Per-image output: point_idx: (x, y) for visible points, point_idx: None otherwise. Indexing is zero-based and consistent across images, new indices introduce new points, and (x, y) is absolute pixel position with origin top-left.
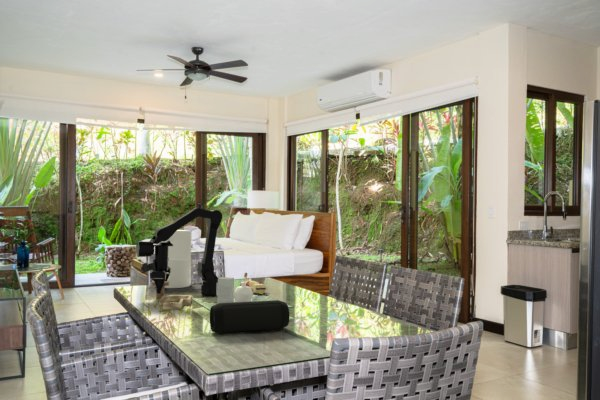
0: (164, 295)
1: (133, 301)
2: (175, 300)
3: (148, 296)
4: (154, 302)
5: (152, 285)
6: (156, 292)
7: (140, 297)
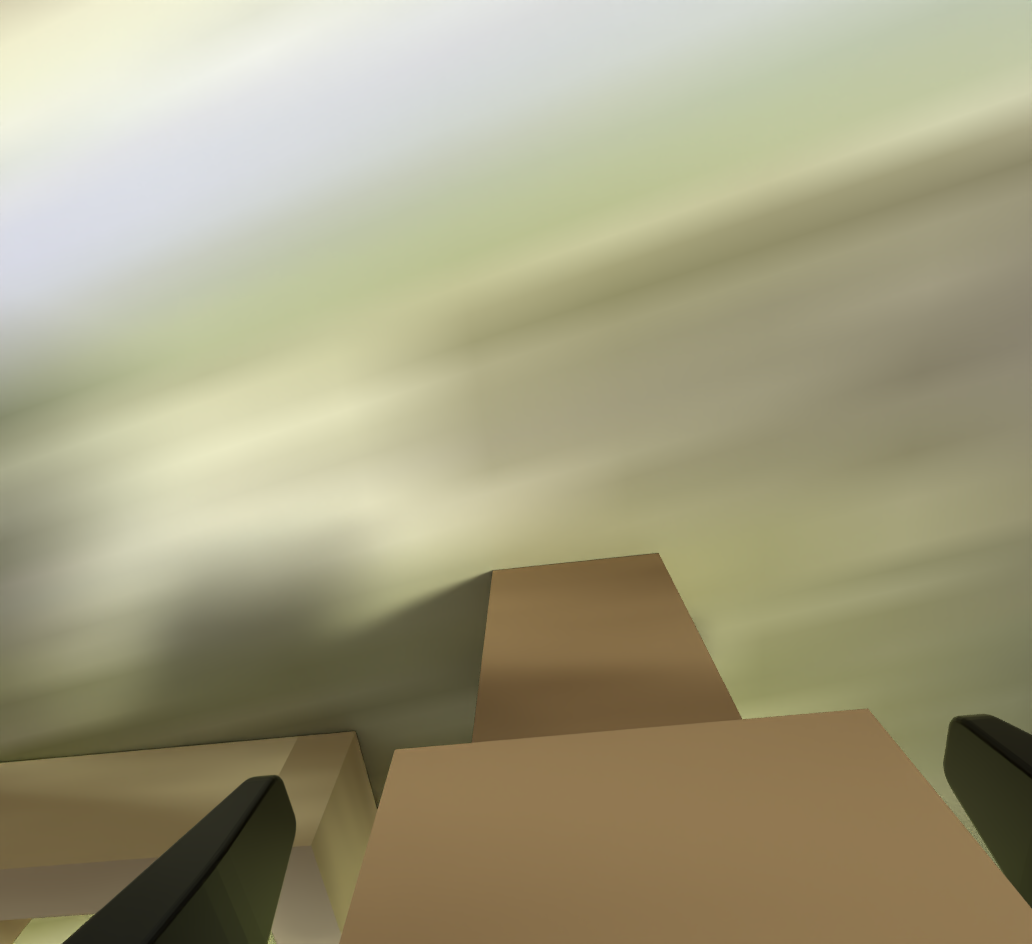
0: None
1: (65, 48)
2: None
3: (891, 260)
4: (141, 626)
5: (406, 786)
6: (482, 685)
7: (729, 44)
